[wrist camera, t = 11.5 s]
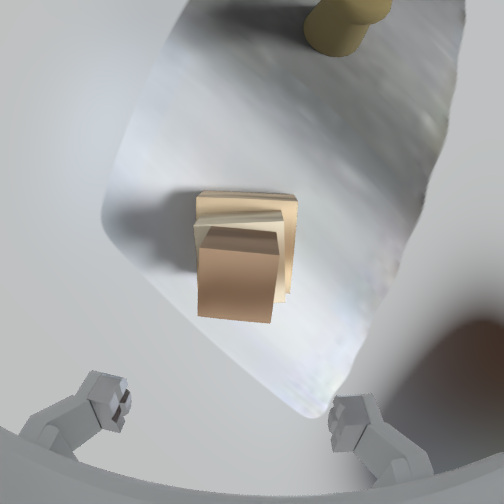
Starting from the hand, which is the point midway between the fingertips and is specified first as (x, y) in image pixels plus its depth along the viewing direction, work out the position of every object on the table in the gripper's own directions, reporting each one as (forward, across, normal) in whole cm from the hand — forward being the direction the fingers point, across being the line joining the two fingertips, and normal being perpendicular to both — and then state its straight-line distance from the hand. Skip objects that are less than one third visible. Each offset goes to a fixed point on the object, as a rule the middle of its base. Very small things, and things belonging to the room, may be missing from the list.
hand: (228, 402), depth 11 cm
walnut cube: (+15, 0, 0) cm, 15 cm away
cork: (+23, -7, -21) cm, 32 cm away
